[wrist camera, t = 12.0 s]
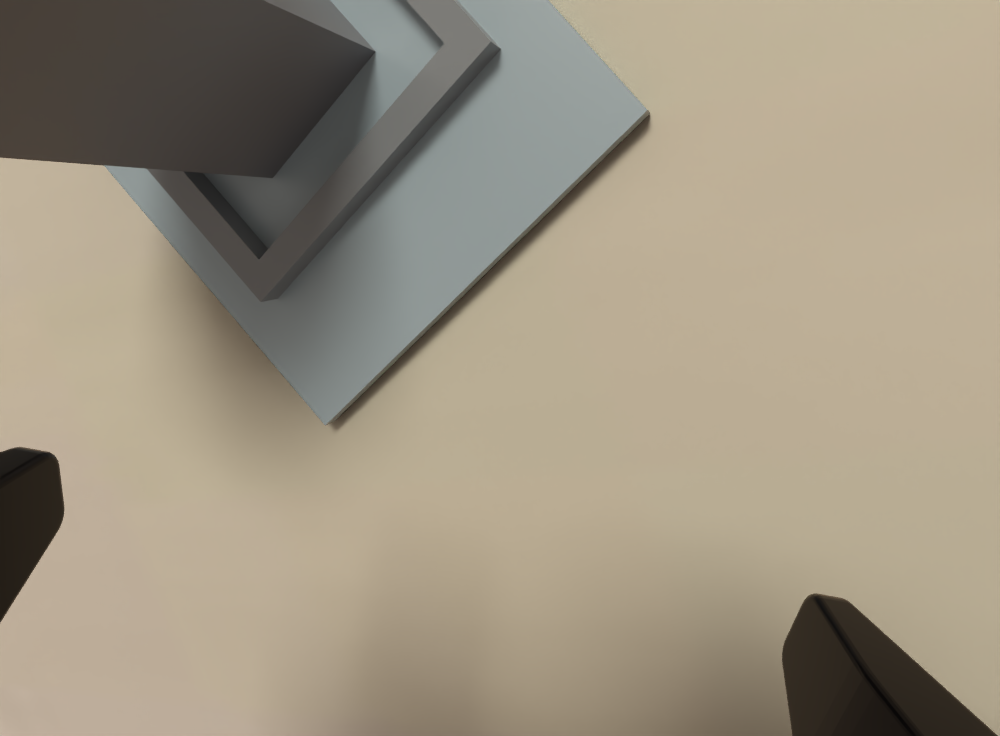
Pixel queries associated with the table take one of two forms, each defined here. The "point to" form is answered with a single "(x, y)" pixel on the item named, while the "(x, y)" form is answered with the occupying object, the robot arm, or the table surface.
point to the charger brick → (171, 81)
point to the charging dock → (397, 186)
